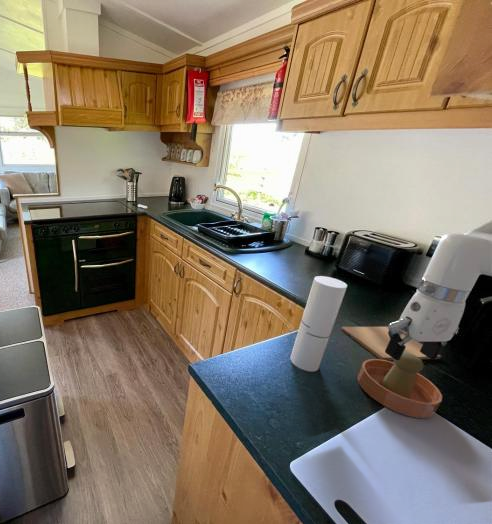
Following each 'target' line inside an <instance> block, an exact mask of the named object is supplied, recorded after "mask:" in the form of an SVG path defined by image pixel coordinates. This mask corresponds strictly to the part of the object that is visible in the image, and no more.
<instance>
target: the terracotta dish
mask: <svg viewBox="0 0 492 524" xmlns="http://www.w3.org/2000/svg"><path fill="white" fill-rule="evenodd" d="M394 364H395V363H394V361H391V360H381V359H380V358H369V359H366V360H364V361H363V362H362V365H361V367H360V370H359V372H358V375H357V382H358V384H359V386H360V387H361V389H362V390H363V391H364V392H365V393H366V394H367V395H368V396H369V397H370V398H372V399H373V400H375V401H376V402H377V403H379V404H381V405H382V406H384V407H386V408H388V409H389V410H392V411H393V412H396V413H398V414H402V415H405V416H408V417H411V418H417V419H429V418H432V417H433V416H434V415H435V414H436V412H437V410H438V408H439V407H440V405H441V403H442V401H443V394H442V393H441V390H440V389H439V388H438V387H437V386H436V385H435V384H434V383H433V382H432V381H430V380H429V379H428V378H426V377H425V376H424V375H422V374H420V372H418V373H417V374H416V377H415V381H414V385H413V389H412V392H411V396H410V399H408V398H405V397H402V396H400V395H398V394H396V393H394V392H391V391H389V390H388V389H386V388H385V387H383V386H381V385H380V383H381V382H382V380H383V379H384V377H385V376H386V375H387V373H388V372H389V371H390V369H391V368H392V366H393V365H394Z"/></svg>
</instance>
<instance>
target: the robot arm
mask: <svg viewBox="0 0 492 524" xmlns="http://www.w3.org/2000/svg"><path fill="white" fill-rule="evenodd" d="M481 275H485V276H488V277H489V276H491V277H492V220H488V221H487V222H485V223H482V224H481V225H479V226H477V227H474V228H472V229H471V230H468V232H466V233H457V232H456V233H452V232H451V233H446V234H444V235H443V236H442V237H441V238H440V240H439V242H438V244H437V246H436V248H435V250H434V252H433V255H432V256H431V259H430V261H429V262H428V265H427V267H426V269H425V271H424V273H423V276H422V278H421V280H420V282H419V284H418V287H417V288H416V292H415V293H414V294H413V296H412V297H411V299H410V300H408V303H407V304H406V306H405V307H404V309H403V312H401V314H400V318H399V319H398V320H396V321H394V322H391V323H389V324H388V325H387V327H388V329H389V332H388V334H389V338H390V341H389V343H388V345H387V348H386V350H385V352H386V353H387V354H388V355H389V356H391V357H392V358H394V359H395V360H400V358H401V356H402V354H403V352H404V350H405V348H406V346H404V344H406V343H407V342H408V341H410V340H411V339H413V340H415V341H417V342H419V343H420V342H421V343H422V342H423V343H422V345H423V346H422V348H421V350H420V352H421V353H422V354H424V355H426V356H427V357H429V358H430V359H429V360H433V361H435V360H437V359H436V358H437V356H438V354H439V355H440V353H441V350H442V349H443V347H444V346H446V345H447V343H448V341H451V340H452V338H454V335H455V333H457V331H459V329H460V327H459V325H460V322H461V320H462V317H463V315H464V312H465V308H466V301H467V299H468V298H469V295H470V293H471V292H472V289H473V288H474V286H475V284H476V282H477V281H478V278H479V277H480V276H481ZM401 334H404V335H405V337H404V338H402V339H401V337H400V335H401Z"/></svg>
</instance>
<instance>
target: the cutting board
mask: <svg viewBox="0 0 492 524" xmlns="http://www.w3.org/2000/svg"><path fill="white" fill-rule="evenodd" d="M341 329H343V330H344V331H345V332H346V333H348V334H349V335H350V336H351V338H352V339H353V340H354V339H355V340H354V341H356V342H357V343H358V344H360V345H361V346H363V347H364V348H365V349H366V350H368V351H369V352H370V353H371V354H373V355H374V356H375V357H377V359H381V360H387V361H394V358H392V357H391V356H389V355H388V354H387V353H386V352H385V350H386V348H387V345H388V343H389V341H390V338H389V334H388V332H389V329H388V326H341V328H340V330H341ZM343 330H342V331H343ZM344 331H343V332H344ZM345 332H344V333H345ZM346 333H345V334H346ZM348 334H347V335H348ZM349 335H348V336H349ZM350 336H349V337H350ZM400 337H401V339H402V338H404V337H405V335H404V334H401V335H400ZM404 346H406V348H405V350H404V352H407V353H410V354H413V355H415V356H417V357H418V358H420V359H421V360H431V359H430V358H429V357H427V356H426V355H424V354H422V353H421V352H420V350H421V348H422V346H423V343H420V342H419V341H415V340H413V338H412V339H411V340H410V341H408V342H407V343H406V344H404ZM441 358H442V355H441V354H440V353H439V354H438V356H437V358H436V359H435V360H441Z"/></svg>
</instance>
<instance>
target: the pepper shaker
mask: <svg viewBox="0 0 492 524" xmlns="http://www.w3.org/2000/svg"><path fill="white" fill-rule="evenodd" d="M393 362H394V363H395V364H394V365H393V366H392V368H391V369H390V371H389V372H388V373H387V375H386V376H385V377H384V379H383V380H382V382H381V383H380V385H381V386H383V387H385V388H386V389H388V390H389V391H391V392H394V393H396V394H398V395H400V396H402V397H405V398H408V399H410V396H411V392H412V389H413V385H414V381H415V377H416V374H417V373H421V371H422V370H423V369H424V362H423V359H420V358H418V357H417V356H415V355H413V354H410V353H407V352H403V354H402V356H401V358H400V360H395V359H394V360H393Z"/></svg>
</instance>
